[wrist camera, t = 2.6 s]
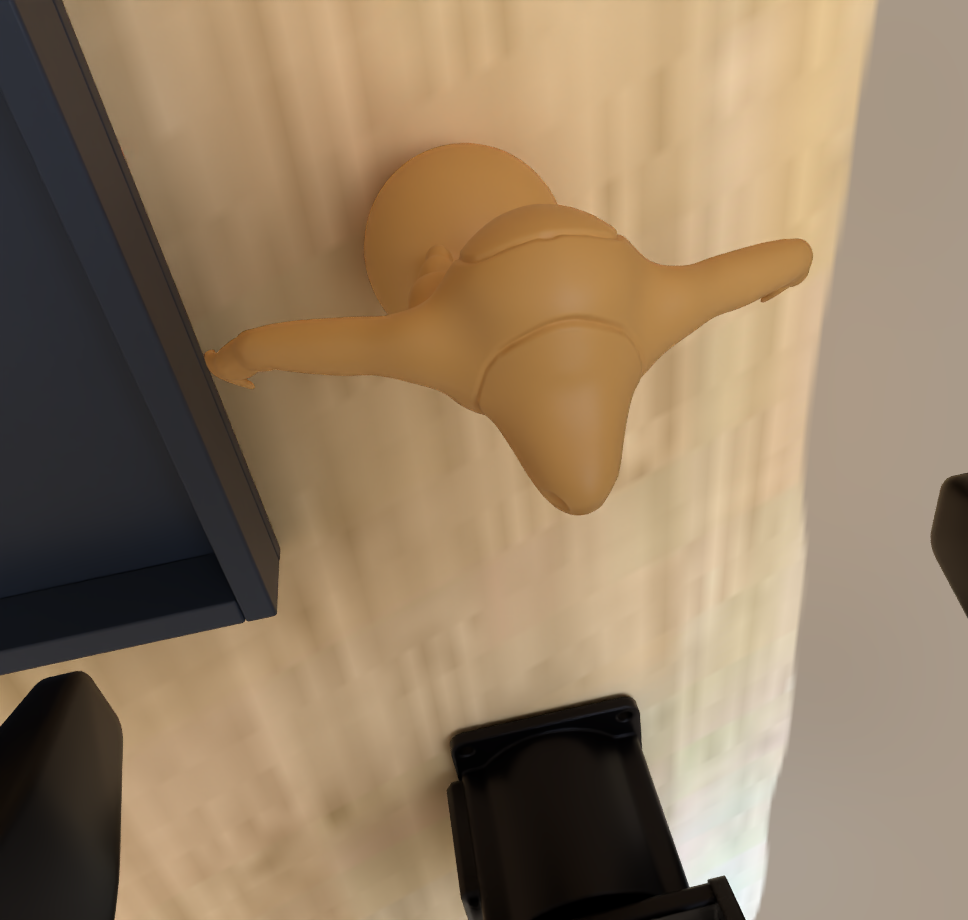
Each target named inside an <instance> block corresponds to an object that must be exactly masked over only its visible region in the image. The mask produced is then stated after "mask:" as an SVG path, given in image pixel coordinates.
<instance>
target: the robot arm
mask: <svg viewBox="0 0 968 920" xmlns="http://www.w3.org/2000/svg"><path fill="white" fill-rule="evenodd" d="M931 545H932V550H933V553H934V555H935V557H936V559H937V561H938V563H939V565H940V567H941V569H942V571H943V573H944V575H945V576H946V578H947V580H948V582H949V584H950V586H951V588H952V589H953V591H954V593H955V595H956V597H957V599H958V601H959V603H960V605H961V606H962V608H963V610H964V612H965V614H966V616H967V618H968V473H964V474H960V475H955V476H951V477H949V478H947V479H946V480H945V481H944V483H943V484H942V486H941V489H940V493H939V498H938V502H937V507H936V511H935V516H934V520H933V525H932V530H931ZM450 747H451V754H452V758H453V762H454V765H455V769H456V772H457V775H458V779H459V781H456V782H452V783H451V784H450V785H449V787H448V789H447V797H448V805H449V812H450V820H451V827H452V835H453V842H454V850H455V857H456V865H457V872H458V880H459V887H460V895H461V900H462V903H463V906H464V909H465V912H466V915H467V917H468V920H746V919H745V917H744V915H743V913H742V911H741V909H740V906H739V904H738V902H737V900H736V898H735V896H734V894H733V891H732V889H731V887H730V885H729V883H728V881H727V879H726V877H725V876H720V877H716V878H712V879H708V883H706V884H702V885H698V886H694V887H689V885H688V882H687V879H686V876H685V873H684V870H683V867H682V864H681V861H680V859H679V856H678V853H677V850H676V847H675V844H674V841H673V838H672V835H671V832H670V830H669V827H668V824H667V821H666V818H665V815H664V812H663V809H662V806H661V804H660V801H659V798H658V795H657V792H656V789H655V786H654V783H653V780H652V778H651V775H650V772H649V769H648V766H647V763H646V760H645V757H644V754H643V751H642V742H641V725H640V712H639V709H638V707H637V704H636V701H635V700H634V699H632V698H629V697H623V698H618V699H613V700H609V701H604V702H600V703H595V704H591V705H586V706H582V707H577V708H573V709H568V710H564V711H559V712H555V713H550V714H546V715H541V716H537V717H532V718H528V719H523V720H519V721H514V722H510V723H505V724H501V725H496V726H492V727H487V728H483V729H478V730H474V731H469V732H465V733H461V734H458V735H456V736H455V737H453V738H452V740H451V741H450ZM122 761H123V734H122V728H121V724H120V721H119V719H118V717H117V715H116V713H115V712H114V711H113V709H112V708H111V706H110V705H109V703H108V702H107V700H106V699H105V697H104V696H103V694H102V693H101V691H100V690H99V689H98V687H97V686H96V684H95V683H94V681H93V680H92V678H91V677H90V676H89V675H88V674H86V673H84V672H82V671H75V672H70V673H66V674H61V675H57V676H52V677H48V678H45V679H43V680H41V681H40V682H39V683H37V684H36V685H35V686H34V687H33V689H32V690H31V691H30V692H29V693H28V695H27V696H26V697H25V698H24V699H23V700H22V702H21V703H20V704H19V705H18V706H17V708H16V709H15V710H14V711H13V712H12V713H11V715H10V716H9V717H8V718H7V719H6V721H5V722H4V723H3V724H2V725H1V726H0V920H114V919H115V911H116V903H117V894H118V885H119V870H120V842H121V801H122Z"/></svg>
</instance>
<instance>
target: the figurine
mask: <svg viewBox="0 0 968 920" xmlns="http://www.w3.org/2000/svg"><path fill="white" fill-rule="evenodd" d="M364 257H365V265H366V270H367V274H368V278H369V281H370V284H371V287H372V289H373V291H374V293H375V295H376V297H377V299H378V301H379V303H380V304H381V306H382V307H383V309H384V310H385V311H386V313H387V314H388V315H386V316H376V317H339V318H324V319H309V320H297V321H289V322H282V323H275V324H269V325H265V326H261V327H257V328H253V329H249V330H245V331H243V332H242V333H240V334H239V335H238V336H237V338H235V339H233V340H231V341H230V342H228V343H227V344H226V345H225V346H223V347H222V348H221V349H220V350H219V351H218V353H215V351H214V350H209V351H207V352H206V353H205V355H204V358H205V362H206V365H207V367H208V369H209V370H210V372H211V373H212V374H214V375H215V376H216V377H218V378H220V379H222V380H225V381H227V382H230V383H232V384H236V385H239V386H242V387H245V388H249V389H254V388H255V386H254V384H253V383H252V382H250V381H249V380H247V378H250V377H252V376H253V375H255V374H256V373H257V372H258V371H271V370H275V369H277V370H283V371H291V372H299V373H309V374H321V375H335V376H354V375H377V376H384V377H389V378H394V379H398V380H402V381H406V382H410V383H414V384H418V385H422V386H426V387H429V388H432V389H435V390H438V391H440V392H442V393H444V394H446V395H448V396H449V397H450V398H452V399H453V400H454V401H456V402H457V403H458V404H460V405H462V406H463V407H465V408H467V409H469V410H471V411H474V412H477V413H480V414H483V415H486V416H487V417H488V418H489V419H491V420H492V422H493V423H494V424H495V425H496V426H497V428H498V429H499V430H500V432H501V433H502V435H503V436H504V438H505V439H506V441H507V442H508V444H509V445H510V447H511V449H512V450H513V452H514V453H515V455H516V457H517V458H518V460H519V462H520V463H521V465H522V467H523V468H524V470H525V471H526V473H527V475H528V476H529V478H530V479H531V480H532V482H533V483H534V485H535V486H536V487H537V489H538V490H539V491H540V493H541V494H542V495H543V496H544V497H545V498H546V499H547V500H548V501H549V502H550V503H551V504H552V505H554V506H555V507H556V508H558V509H559V510H561V511H563V512H565V513H568V514H572V515H585V514H589V513H591V512H593V511H595V510H597V509H598V508H599V507H601V506H602V504H603V503H604V501H605V500H606V498H607V497H608V495H609V493H610V491H611V489H612V487H613V486H614V484H615V482H616V480H617V477H618V475H619V470H620V464H621V458H622V450H623V443H624V436H625V429H626V423H627V417H628V412H629V407H630V403H631V400H632V396H633V394H634V391H635V389H636V387H637V385H638V383H639V381H640V379H641V377H642V376H643V375H644V374H645V373H646V372H647V371H648V370H649V369H650V367H651V366H652V365H653V364H654V363H655V362H656V361H657V360H658V359H659V358H660V357H661V356H662V355H663V354H664V353H665V352H666V351H667V350H669V349H670V348H671V347H672V346H674V345H675V344H677V343H678V342H679V341H681V340H682V339H684V338H685V337H686V336H688V335H689V334H691V333H692V332H693V331H695V330H696V329H698V328H699V327H700V326H702V325H703V324H704V323H706V322H707V321H709V320H710V319H712V318H714V317H716V316H718V315H721V314H723V313H726V312H730V311H733V310H736V309H738V308H741V307H743V306H746V305H748V304H750V303H752V302H754V301H756V300H758V299H760V298H761V302H766V301H768V300H769V299H771V298H773V297H775V296H776V295H778V294H780V293H781V292H783V291H784V290H786V289H787V288H788V287H793V286H796V285H798V284H800V283H801V282H802V281H803V280H804V279H805V278H806V277H807V275H808V273H809V268H810V266H811V263H812V260H813V253H812V249H811V247H810V245H809V244H808V243H807V242H806V241H804V240H802V239H782V240H776V241H770V242H765V243H761V244H756V245H752V246H749V247H745V248H742V249H738V250H735V251H731V252H728V253H725V254H721V255H718V256H714V257H711V258H708V259H706V260H703V261H700V262H698V263H695V264H691V265H685V266H666V265H660V264H656V263H654V262H652V261H650V260H648V259H647V258H645V257H644V256H643V255H642V254H641V253H640V252H639V251H638V250H637V249H636V248H635V247H634V246H633V245H632V244H631V243H630V242H629V241H628V240H627V239H626V238H625V237H624V236H621V235H617V231H616V230H615V229H614V228H613V227H612V226H610V225H609V224H607V223H606V222H604V221H603V220H601V219H599V218H597V217H595V216H593V215H591V214H589V213H586V212H584V211H581V210H578V209H575V208H572V207H568V206H562V205H558V204H557V202H556V200H555V198H554V196H553V194H552V193H551V191H550V189H549V188H548V187H547V185H546V184H545V183H544V181H543V180H542V179H541V178H540V177H539V176H538V174H537V173H536V172H535V171H534V170H532V169H531V168H530V167H529V166H528V165H526V164H525V163H524V162H522V161H521V160H519V159H518V158H516V157H515V156H513V155H511V154H509V153H507V152H505V151H502V150H500V149H497V148H494V147H490V146H486V145H481V144H472V143H458V144H449V145H444V146H440V147H436V148H433V149H430V150H428V151H425V152H423V153H421V154H419V155H417V156H416V157H414V158H412V159H411V160H409V161H408V162H406V163H405V164H404V165H402V166H401V167H400V168H399V169H398V170H397V171H396V172H395V173H394V174H393V175H392V176H391V177H390V178H389V179H388V180H387V182H386V183H385V184H384V186H383V187H382V189H381V190H380V192H379V193H378V195H377V197H376V199H375V201H374V203H373V205H372V208H371V210H370V213H369V216H368V220H367V224H366V229H365V237H364Z"/></svg>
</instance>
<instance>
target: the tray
mask: <svg viewBox="0 0 968 920" xmlns="http://www.w3.org/2000/svg"><path fill="white" fill-rule="evenodd" d="M279 560H280V547H279V544H278V542H277V539H276V537H275V534H274V532H273V529H272V527H271V524H270V522H269V519H268V517H267V514H266V512H265V509H264V507H263V504H262V502H261V499H260V497H259V494H258V492H257V489H256V487H255V484H254V482H253V479H252V477H251V474H250V472H249V469H248V467H247V464H246V462H245V459H244V457H243V454H242V452H241V449H240V447H239V444H238V442H237V439H236V437H235V434H234V432H233V429H232V427H231V424H230V422H229V419H228V416H227V414H226V411H225V409H224V406H223V404H222V401H221V399H220V396H219V394H218V391H217V389H216V386H215V384H214V381H213V379H212V376H211V374H210V371H209V369H208V367H207V365H206V362H205V359H204V356H203V354H202V351H201V349H200V346H199V344H198V341H197V339H196V336H195V334H194V331H193V329H192V326H191V324H190V321H189V319H188V316H187V314H186V311H185V309H184V306H183V304H182V301H181V299H180V296H179V294H178V291H177V289H176V286H175V283H174V281H173V278H172V276H171V273H170V271H169V268H168V266H167V263H166V261H165V258H164V256H163V253H162V251H161V248H160V246H159V243H158V241H157V238H156V236H155V233H154V231H153V228H152V226H151V223H150V221H149V218H148V216H147V213H146V211H145V208H144V206H143V203H142V201H141V198H140V196H139V193H138V191H137V188H136V186H135V183H134V181H133V178H132V176H131V173H130V171H129V168H128V166H127V163H126V161H125V158H124V156H123V153H122V151H121V148H120V145H119V143H118V140H117V138H116V135H115V133H114V130H113V128H112V125H111V123H110V120H109V118H108V115H107V113H106V110H105V108H104V105H103V103H102V100H101V98H100V95H99V93H98V90H97V88H96V85H95V83H94V80H93V78H92V75H91V73H90V70H89V68H88V65H87V63H86V60H85V58H84V55H83V53H82V50H81V48H80V45H79V43H78V40H77V38H76V35H75V33H74V30H73V28H72V25H71V23H70V20H69V18H68V15H67V13H66V10H65V7H64V5H63V2H62V0H0V675H4V674H9V673H13V672H18V671H22V670H27V669H32V668H36V667H41V666H46V665H50V664H55V663H59V662H64V661H69V660H73V659H78V658H83V657H87V656H92V655H96V654H101V653H106V652H110V651H115V650H120V649H124V648H129V647H134V646H138V645H143V644H147V643H152V642H157V641H161V640H166V639H171V638H175V637H180V636H184V635H189V634H194V633H198V632H203V631H208V630H212V629H217V628H221V627H226V626H231V625H235V624H240V623H243V622H245V619H246V621H253V620H258V619H263V618H267V617H272V616H275V615H276V614H277V599H278V578H279Z"/></svg>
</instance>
